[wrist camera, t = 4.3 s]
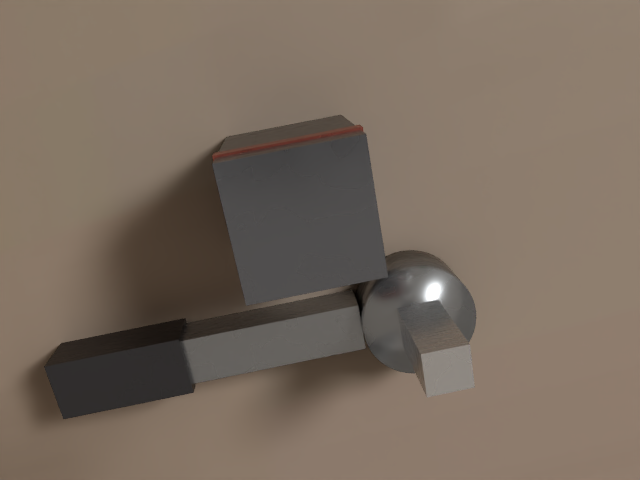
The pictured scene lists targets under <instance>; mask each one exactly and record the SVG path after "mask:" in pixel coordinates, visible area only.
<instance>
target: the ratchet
mask: <svg viewBox="0 0 640 480" xmlns="http://www.w3.org/2000/svg"><path fill="white" fill-rule="evenodd" d="M385 260H386V266H387V272H388V277H386V278H381V279H376V280H371V281H366V282H361V283H360V284H359V286H358V289H357V293H356V298H355V295H354V293H353V290H349V291H344V292H339V293H334V294H329V295H324V296H319V297H314V298H309V299H304V300H299V301H294V302H289V303H284V304H279V305H274V306H269V307H264V308H259V309H254V310H250V311H245V312H240V313H235V314H230V315H225V316H220V317H215V318H210V319H205V320H200V321H195V322H190V323H186V319H180V320H175V321H170V322H165V323H160V324H155V325H150V326H145V327H140V328H135V329H130V330H125V331H120V332H115V333H110V334H105V335H100V336H95V337H90V338H85V339H80V340H75V341H70V342H65V343H61V344H60V346H59V347H58V348H57V350H56V351H55V353H54V354H53V355H52V357H51V358H50V359H49V361H48V362H47V364H46V365H45V366H44V368H45V370H46V373H47V376H48V379H49V381H50V384H51V387H52V389H53V392H54V395H55V397H56V400H57V403H58V406H59V408H60V411H61V414H62V416H63V419H67V418H72V417H77V416H82V415H86V414H91V413H96V412H101V411H106V410H111V409H116V408H121V407H126V406H130V405H135V404H140V403H145V402H150V401H155V400H160V399H165V398H170V397H174V396H179V395H184V394H189V393H194V389H195V384H196V383H199V382H204V381H209V380H214V379H219V378H224V377H229V376H234V375H239V374H244V373H248V372H253V371H258V370H263V369H268V368H273V367H278V366H283V365H288V364H293V363H297V362H302V361H307V360H312V359H317V358H322V357H327V356H332V355H337V354H342V353H346V352H351V351H356V350H361V349H366V348H365V342H364V336H365V339H366V342H367V344H368V347H369V348H370V350H371V352H372V353H373V354H374V356H375V357H376V358H377V359H378V360H379V361H380V362H382V363H383V364H385V365H386V366H388V367H390V368H392V369H394V370H397V371H400V372H405V373H416V375H417V377H418V379H419V381H420V384H421V386H422V388H423V390H424V392H425V394H426V396H427V397H431V396H436V395H440V394H445V393H450V392H455V391H460V390H465V389H469V388H474V387H475V386H474V377H473V368H472V359H471V350H470V344H469V341H470V339H471V337H472V335H473V332H474V329H475V324H476V309H475V304H474V301H473V298H472V296H471V294H470V292H469V291H468V289H467V288H466V287H465V286H464V284H463V283H462V282H461V281H460V280H459V279H458V277H457V276H456V275H455V274H454V273H453V272H452V271H451V269H450V268H449V267H448V266H447V265H446V264H445V263H444V262H443V261H442V260H440V259H439V258H437V257H435V256H434V255H431V254H429V253H426V252H422V251H414V250H410V251H400V252H396V253H393V254H390V255H388V256H386V257H385ZM363 334H364V336H363Z"/></svg>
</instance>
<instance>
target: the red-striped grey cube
mask: <svg viewBox="0 0 640 480" xmlns="http://www.w3.org/2000/svg"><path fill="white" fill-rule="evenodd" d="M212 157H213V163H212V166H213V170H214V174H215V178H216V182H217V186H218V191H219V195H220V199H221V203H222V207H223V211H224V216H225V220H226V224H227V228H228V232H229V236H230V241H231V245H232V249H233V253H234V257H235V261H236V266H237V270H238V274H239V278H240V282H241V286H242V291H243V295H244V299H245V303H246V306H247V305H252V304H257V303H262V302H267V301H272V300H277V299H282V298H287V297H292V296H297V295H302V294H306V293H311V292H316V291H321V290H326V289H331V288H336V287H341V286H346V285H351V284H356V283H361V282H366V281H371V280H376V279H381V278H386V277H388V272H387V266H386V260H385V253H384V247H383V240H382V234H381V227H380V221H379V214H378V208H377V201H376V195H375V189H374V182H373V176H372V169H371V163H370V156H369V150H368V143H367V137H366V134H365V133H364V132H363V127H362V126H361V125H354V124H353V123H351V122H350V121H349V120H347V119H346V118H345V117H344V116H342V115H338V116H332V117H327V118H322V119H317V120H312V121H306V122H301V123H296V124H291V125H286V126H281V127H275V128H270V129H265V130H260V131H255V132H250V133H244V134H239V135H234V136H229V137H226V139H225V141H224V142H223V144H222V146H221V148H220V150H219V152H216V153H214V154H213V156H212Z"/></svg>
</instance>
